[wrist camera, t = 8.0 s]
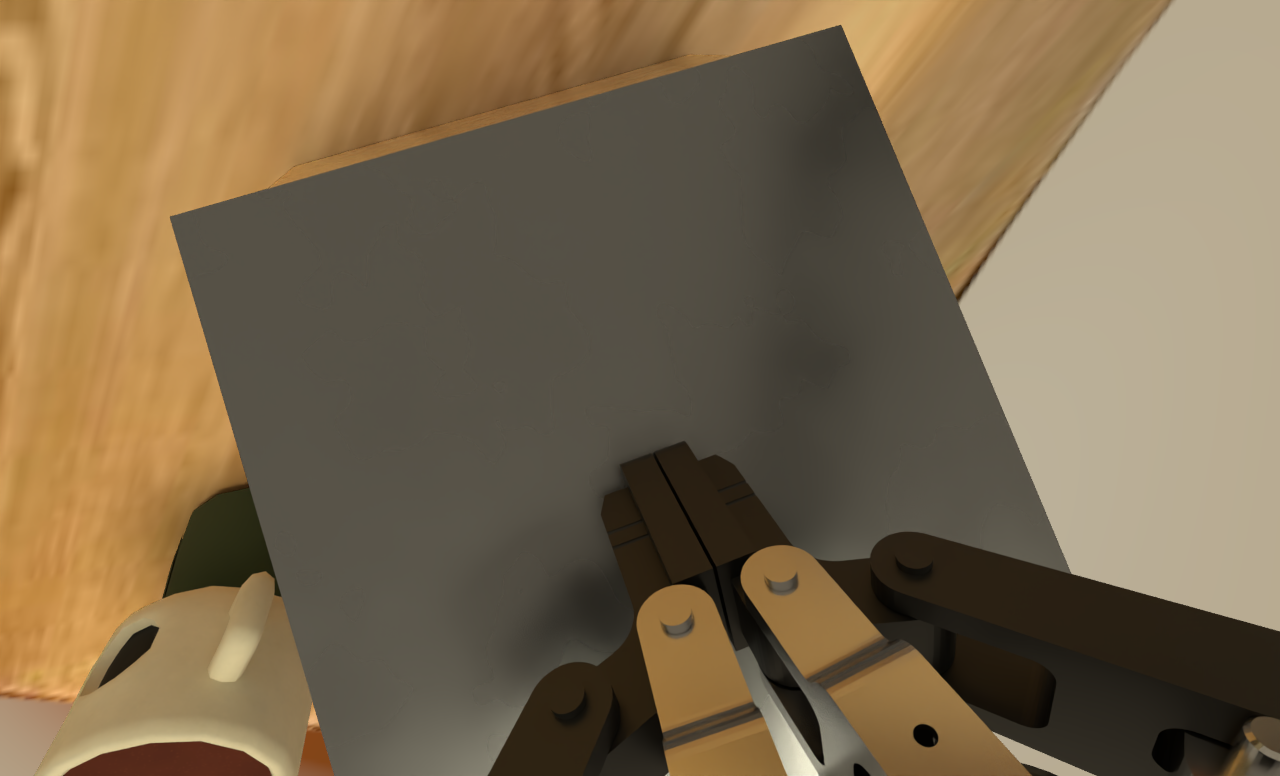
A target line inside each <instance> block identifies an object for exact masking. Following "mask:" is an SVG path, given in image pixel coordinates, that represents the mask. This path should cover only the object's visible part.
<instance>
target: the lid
mask: <svg viewBox="0 0 1280 776" xmlns="http://www.w3.org/2000/svg"><path fill="white" fill-rule="evenodd" d="M170 220H171V223H172V226H173V230H174V233H175V237H176V240H177V243H178V247H179V250H180V254H181V257H182V260H183V264H184V267H185V270H186V274H187V277H188V281H189V284H190V287H191V291H192V294H193V298H194V301H195V304H196V308H197V311H198V315H199V318H200V321H201V325H202V328H203V332H204V335H205V338H206V342H207V345H208V348H209V352H210V355H211V359H212V362H213V365H214V369H215V372H216V376H217V379H218V382H219V386H220V389H221V393H222V396H223V399H224V403H225V406H226V410H227V413H228V416H229V420H230V423H231V426H232V430H233V433H234V437H235V440H236V443H237V447H238V450H239V454H240V457H241V460H242V464H243V467H244V471H245V474H246V477H247V481H248V484H249V488H250V491H251V494H252V498H253V501H254V504H255V508H256V511H257V515H258V518H259V521H260V525H261V528H262V532H263V535H264V538H265V542H266V545H267V549H268V552H269V555H270V559H271V562H272V566H273V569H274V572H275V576H276V579H277V582H278V586H279V589H280V593H281V596H282V599H283V603H284V606H285V610H286V613H287V616H288V620H289V623H290V627H291V630H292V633H293V637H294V640H295V644H296V647H297V650H298V654H299V657H300V660H301V664H302V667H303V671H304V674H305V677H306V681H307V684H308V688H309V691H310V694H311V698H312V701H313V705H314V708H315V711H316V715H317V718H318V722H319V725H320V728H321V732H322V735H323V738H324V742H325V745H326V749H327V752H328V755H329V759H330V762H331V766H332V769H333V772H334V776H488V774H489V772H490V770H491V768H492V766H493V765H494V763H495V761H496V759H497V757H498V755H499V753H500V751H501V750H502V748H503V746H504V744H505V742H506V740H507V738H508V736H509V735H510V733H511V731H512V729H513V727H514V725H515V723H516V721H517V719H518V718H519V716H520V714H521V712H522V710H523V708H524V706H525V704H526V703H527V701H528V699H529V697H530V695H531V693H532V691H533V690H534V688H535V687H536V685H537V684H538V683H539V682H540V680H541V679H542V678H543V677H544V676H545V675H547V674H548V673H549V672H551V671H552V670H553V669H555V668H557V667H559V666H561V665H564V664H567V663H572V662H586V663H590V664H593V665H595V666H598V665H599V664H600V663H601V662H603V661H604V660H605V659H607V658H608V657H609V656H610V655H612V654H613V653H614V652H615V651H616V650H617V649H618V648H619V647H620V646H621V645H622V644H623V643H624V641H625V640H626V638H627V637H628V635H629V633H630V631H631V628H632V625H633V619H634V609H633V605H632V603H631V600H630V597H629V594H628V591H627V588H626V586H625V583H624V580H623V577H622V574H621V571H620V569H619V566H618V563H617V560H616V557H615V554H614V551H613V549H612V546H611V543H610V540H609V537H608V534H607V531H606V529H605V526H604V523H603V520H602V517H601V510H602V506H603V501H604V496H605V495H607V494H610V493H613V492H615V491H618V490H621V489H624V488H626V486H625V483H624V479H623V476H622V473H621V470H620V465H619V464H622V463H625V462H628V461H630V460H633V459H636V458H639V457H641V456H644V455H647V454H650V453H651V454H652V455H653V452H655V451H657V450H660V449H663V448H666V447H668V446H671V445H674V444H677V443H679V442H682V441H685V442H686V443H687V444H688V446H689V447H690V449H691V450H692V452H693V453H694V455H695V457H696V458H697V460H698V461H699V460H701V459H704V458H707V457H709V456H712V455H715V454H716V455H718V456H720V457H722V458H723V459H725V460H727V461H729V462H731V463H733V464H734V465H735V466H736V468H737V469H738V470H739V472H740V473H741V475H742V476H743V477H744V479H745V481H746V483H748V484H749V486H750V487H751V488H752V490H753V491H754V493H755V495H756V496H757V497H758V498H759V500H760V501H761V502H762V504H763V505H764V507H765V508H766V509H767V511H768V512H769V514H770V515H771V516H772V518H773V519H774V521H775V522H776V523H777V525H778V526H779V528H780V529H781V530H782V532H783V533H784V534H785V536H786V537H787V539H788V540H789V541H790V543H791V544H792V545H793V546H794V547H796V548H800V549H802V550H804V551H806V552H807V553H809V554H810V555H812V556H813V557H814V558H816V559H820V560H826V561H844V560H854V559H864V558H870V554H871V552H872V549H873V547H874V546H875V545H876V544H877V542H878V541H880V540H881V539H883V538H884V537H886V536H888V535H891V534H894V533H898V532H920V533H924V534H928V535H932V536H936V537H939V538H943V539H947V540H950V541H954V542H957V543H961V544H965V545H968V546H972V547H976V548H979V549H983V550H986V551H990V552H994V553H997V554H1001V555H1004V556H1008V557H1012V558H1015V559H1019V560H1023V561H1026V562H1030V563H1033V564H1037V565H1041V566H1044V567H1048V568H1052V569H1055V570H1059V571H1062V572H1066V573H1070V574H1071V572H1070V569H1069V567H1068V565H1067V562H1066V560H1065V557H1064V555H1063V553H1062V550H1061V548H1060V546H1059V543H1058V541H1057V538H1056V536H1055V534H1054V531H1053V529H1052V526H1051V524H1050V522H1049V520H1048V517H1047V515H1046V512H1045V510H1044V507H1043V505H1042V503H1041V500H1040V498H1039V495H1038V493H1037V491H1036V488H1035V486H1034V484H1033V481H1032V479H1031V476H1030V474H1029V472H1028V469H1027V467H1026V465H1025V462H1024V460H1023V457H1022V455H1021V453H1020V450H1019V448H1018V445H1017V443H1016V441H1015V438H1014V436H1013V433H1012V431H1011V429H1010V427H1009V424H1008V422H1007V419H1006V417H1005V414H1004V412H1003V410H1002V407H1001V405H1000V403H999V400H998V398H997V395H996V393H995V391H994V388H993V386H992V383H991V381H990V379H989V376H988V374H987V372H986V369H985V367H984V364H983V362H982V360H981V357H980V355H979V352H978V350H977V348H976V345H975V343H974V341H973V338H972V336H971V333H970V331H969V329H968V326H967V324H966V321H965V319H964V317H963V314H962V312H961V310H960V307H959V305H958V302H957V300H956V298H955V295H954V293H953V290H952V288H951V286H950V283H949V281H948V279H947V276H946V274H945V271H944V269H943V267H942V264H941V262H940V259H939V257H938V255H937V252H936V250H935V248H934V245H933V243H932V240H931V238H930V236H929V233H928V231H927V228H926V226H925V224H924V221H923V219H922V217H921V214H920V212H919V209H918V207H917V205H916V202H915V200H914V197H913V195H912V193H911V190H910V188H909V186H908V183H907V181H906V178H905V176H904V174H903V171H902V169H901V167H900V164H899V162H898V159H897V157H896V155H895V152H894V150H893V147H892V145H891V143H890V140H889V138H888V136H887V133H886V131H885V128H884V126H883V124H882V121H881V119H880V116H879V114H878V112H877V109H876V107H875V105H874V102H873V100H872V97H871V95H870V93H869V90H868V88H867V85H866V83H865V81H864V78H863V76H862V74H861V71H860V69H859V66H858V64H857V62H856V59H855V57H854V54H853V52H852V50H851V47H850V45H849V43H848V40H847V38H846V35H845V33H844V31H843V28H842V26H841V25H839V26H835V27H832V28H828V29H825V30H821V31H818V32H814V33H811V34H807V35H804V36H800V37H797V38H793V39H790V40H786V41H783V42H779V43H776V44H772V45H769V46H765V47H762V48H758V49H755V50H751V51H748V52H744V53H741V54H737V55H734V56H730V57H727V58H723V59H720V60H716V61H713V62H709V63H706V64H702V65H699V66H695V67H692V68H688V69H685V70H681V71H678V72H674V73H671V74H667V75H664V76H660V77H657V78H653V79H650V80H646V81H643V82H639V83H636V84H632V85H629V86H625V87H622V88H618V89H615V90H611V91H608V92H604V93H601V94H597V95H594V96H590V97H587V98H583V99H580V100H576V101H573V102H569V103H566V104H562V105H559V106H555V107H552V108H548V109H545V110H541V111H538V112H534V113H531V114H527V115H524V116H520V117H517V118H513V119H510V120H506V121H503V122H499V123H496V124H492V125H489V126H485V127H482V128H478V129H475V130H471V131H468V132H464V133H461V134H457V135H454V136H450V137H447V138H443V139H440V140H436V141H433V142H429V143H426V144H422V145H419V146H415V147H412V148H408V149H405V150H401V151H398V152H395V153H391V154H388V155H384V156H381V157H377V158H374V159H370V160H367V161H363V162H360V163H356V164H353V165H349V166H346V167H342V168H339V169H335V170H332V171H328V172H325V173H321V174H318V175H314V176H311V177H307V178H304V179H300V180H297V181H293V182H290V183H286V184H283V185H279V186H276V187H272V188H269V189H265V190H262V191H258V192H255V193H251V194H248V195H244V196H241V197H237V198H234V199H230V200H227V201H223V202H220V203H216V204H213V205H209V206H206V207H202V208H199V209H195V210H192V211H188V212H185V213H181V214H178V215H174V216H171V217H170ZM729 639H730V638H729ZM730 643H731V646H732V648H733V651H734V654H735V656H736V659H737V661H738V664H739V666H740V669H741V671H742V674H743V676H744V679H745V681H746V684H747V687H748V689H749V692H750V694H751V697H752V699H753V701H754V704H755V706H756V707H759V709H760V711H761V713H762V715H763V717H764V719H765V722H766V724H767V726H768V729H769V731H770V734H771V736H772V739H773V741H774V744H775V746H776V749H777V751H778V754H779V756H780V759H781V761H782V764H783V766H784V769H785V771H786V774H787V776H819V775H818V773H817V771H816V769H815V768H814V766H813V765H812V763H811V761H810V760H809V758H808V756H807V755H806V753H805V752H804V750H803V748H802V747H801V745H800V743H799V742H798V740H797V739H796V737H795V735H794V734H793V732H792V730H791V729H790V727H789V726H788V724H787V722H786V721H785V719H784V717H783V716H782V714H781V713H780V711H779V709H778V708H777V706H776V704H775V703H774V701H773V700H772V698H771V696H770V695H769V693H768V692H767V690H766V688H765V687H764V685H763V683H762V680H761V676H760V671H759V666H758V662H757V661H756V659H755V657H754V655H753V653H752V651H751V649H750V647H749V646H748V647H746V648H744V649H741V650H739V651H736V650H735V648H734V646H733V644H732V642H731V640H730ZM665 776H670V774H669V773H668V774H666V775H665Z"/></svg>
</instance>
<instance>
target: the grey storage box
mask: <svg viewBox="0 0 1280 776" xmlns="http://www.w3.org/2000/svg"><path fill="white" fill-rule="evenodd" d="M727 57H730V56H725V55H694V54H689V55H686V56H682V57H679V58H675V59H672V60H668V61H665V62H661V63H657V64H654V65H650V66H647V67H643V68H640V69H636V70H633V71H629V72H626V73H622V74H619V75H615V76H612V77H608V78H604V79H601V80H597V81H594V82H590V83H587V84H583V85H580V86H576V87H573V88H569V89H566V90H562V91H559V92H555V93H551V94H548V95H544V96H541V97H537V98H534V99H530V100H527V101H523V102H520V103H516V104H513V105H509V106H506V107H502V108H499V109H495V110H491V111H488V112H484V113H481V114H477V115H474V116H470V117H467V118H463V119H460V120H456V121H453V122H449V123H446V124H442V125H438V126H435V127H431V128H428V129H424V130H421V131H417V132H414V133H410V134H407V135H403V136H400V137H396V138H393V139H389V140H385V141H382V142H378V143H375V144H371V145H368V146H364V147H361V148H357V149H354V150H350V151H347V152H343V153H340V154H336V155H333V156H329V157H325V158H322V159H318V160H315V161H311V162H308V163H304V164H301V165H297V166H294V167H293V168H292V169H291V170H289V171H288V172H287V173H286V174H285V175H283V176H282V177H281V178H280V179H279V180H278V181H276V182H275V183H274V184H273V185H272V186H270V187H269V188H272V187H276V186H279V185H283V184H286V183H290V182H293V181H297V180H300V179H304V178H307V177H311V176H314V175H318V174H321V173H325V172H328V171H332V170H335V169H339V168H342V167H346V166H349V165H353V164H356V163H360V162H363V161H367V160H370V159H374V158H377V157H381V156H384V155H388V154H391V153H395V152H398V151H401V150H405V149H408V148H412V147H415V146H419V145H422V144H426V143H429V142H433V141H436V140H440V139H443V138H447V137H450V136H454V135H457V134H461V133H464V132H468V131H471V130H475V129H478V128H482V127H485V126H489V125H492V124H496V123H499V122H503V121H506V120H510V119H513V118H517V117H520V116H524V115H527V114H531V113H534V112H538V111H541V110H545V109H548V108H552V107H555V106H559V105H562V104H566V103H569V102H573V101H576V100H580V99H583V98H587V97H590V96H594V95H597V94H601V93H604V92H608V91H611V90H615V89H618V88H622V87H625V86H629V85H632V84H636V83H639V82H643V81H646V80H650V79H653V78H657V77H660V76H664V75H667V74H671V73H674V72H678V71H681V70H685V69H688V68H692V67H695V66H699V65H702V64H706V63H709V62H713V61H716V60H720V59H723V58H727ZM269 188H268V189H269Z"/></svg>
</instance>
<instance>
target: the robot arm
mask: <svg viewBox="0 0 1280 776" xmlns="http://www.w3.org/2000/svg"><path fill="white" fill-rule="evenodd" d="M619 465H620V470H621V473H622V476H623V479H624V483H625V486H626V488H624V489H621V490H618V491H615V492H613V493H610V494H607V495H605V496H604V501H603V506H602V510H601V517H602V520H603V523H604V526H605V529H606V531H607V534H608V537H609V540H610V543H611V546H612V549H613V551H614V554H615V557H616V560H617V563H618V566H619V569H620V571H621V574H622V577H623V580H624V583H625V586H626V588H627V591H628V594H629V597H630V600H631V603H632V605H633V609H634V619H633V625H632V628H631V631H630V633H629V635H628V637H627V638H626V640H625V641H624V643H623V644H622V645H621V646H620V647H619V648H618V649H617V650H616V651H615V652H614V653H613V654H612V655H610V656H609V657H608V658H607V659H605V660H604V661H603V662H601V663H600V664H599V665H598V666H595V665H593V664H590V663H586V662H572V663H567V664H564V665H561V666H559V667H557V668H555V669H553V670H552V671H551V672H549V673H548V674H547V675H545V676H544V677H543V678H542V679H541V680H540V682H539V683H538V684H537V685H536V687H535V688H534V690H533V691H532V693H531V695H530V697H529V699H528V701H527V703H526V704H525V706H524V708H523V710H522V712H521V714H520V716H519V718H518V719H517V721H516V723H515V725H514V727H513V729H512V731H511V733H510V735H509V736H508V738H507V740H506V742H505V744H504V746H503V748H502V750H501V751H500V753H499V755H498V757H497V759H496V761H495V763H494V765H493V766H492V768H491V770H490V772H489V774H488V776H665V775H666V774H668V773H669V774H670V776H787V774H786V771H785V769H784V766H783V764H782V761H781V759H780V756H779V754H778V751H777V749H776V746H775V744H774V741H773V739H772V736H771V734H770V731H769V729H768V726H767V724H766V722H765V719H764V717H763V715H762V713H761V711H760V709H759V707H756V706H755V704H754V701H753V699H752V697H751V694H750V692H749V689H748V687H747V684H746V681H745V679H744V676H743V674H742V671H741V669H740V666H739V664H738V661H737V659H736V656H735V654H734V651H733V648H732V646H731V643H730V640H731V642H732V644H733V646H734V648H735V650H736V651H739V650H741V649H744V648H746V647H748V646H749V647H750V649H751V651H752V653H753V655H754V657H755V659H756V661H757V662H758V666H759V671H760V676H761V680H762V683H763V685H764V687H765V688H766V690H767V692H768V693H769V695H770V696H771V698H772V700H773V701H774V703H775V704H776V706H777V708H778V709H779V711H780V713H781V714H782V716H783V717H784V719H785V721H786V722H787V724H788V726H789V727H790V729H791V730H792V732H793V734H794V735H795V737H796V739H797V740H798V742H799V743H800V745H801V747H802V748H803V750H804V752H805V753H806V755H807V756H808V758H809V760H810V761H811V763H812V765H813V766H814V768H815V769H816V771H817V773H818V775H819V776H1057V775H1055V774H1052V773H1050V772H1047V771H1045V770H1042V769H1039V768H1036V767H1033V766H1030V765H1027V764H1022V763H1020V762H1019V761H1018V760H1017V759H1016V758H1015V757H1014V755H1013V754H1012V753H1011V752H1010V751H1009V750H1008V749H1007V748H1006V747H1005V746H1004V745H1003V743H1002V742H1001V741H1000V740H999V739H998V738H997V737H996V736H995V735H994V734H993V732H995V733H998V734H1000V735H1002V736H1005V737H1007V738H1009V739H1012V740H1014V741H1016V742H1019V743H1021V744H1024V745H1026V746H1028V747H1031V748H1033V749H1035V750H1038V751H1040V752H1042V753H1045V754H1047V755H1049V756H1052V757H1054V758H1056V759H1059V760H1061V761H1063V762H1066V763H1068V764H1070V765H1073V766H1075V767H1078V768H1080V769H1082V770H1084V771H1087V772H1089V773H1092V774H1094V775H1097V776H1280V631H1276V630H1273V629H1269V628H1265V627H1262V626H1258V625H1254V624H1251V623H1247V622H1244V621H1240V620H1236V619H1233V618H1229V617H1225V616H1222V615H1218V614H1215V613H1211V612H1207V611H1204V610H1200V609H1196V608H1193V607H1189V606H1186V605H1182V604H1178V603H1174V602H1171V601H1167V600H1164V599H1160V598H1157V597H1153V596H1149V595H1146V594H1142V593H1138V592H1135V591H1131V590H1128V589H1124V588H1120V587H1116V586H1113V585H1109V584H1106V583H1102V582H1098V581H1095V580H1091V579H1088V578H1084V577H1080V576H1077V575H1073V574H1070V573H1066V572H1062V571H1059V570H1055V569H1052V568H1048V567H1044V566H1041V565H1037V564H1033V563H1030V562H1026V561H1023V560H1019V559H1015V558H1012V557H1008V556H1004V555H1001V554H997V553H994V552H990V551H986V550H983V549H979V548H976V547H972V546H968V545H965V544H961V543H957V542H954V541H950V540H947V539H943V538H939V537H936V536H932V535H928V534H924V533H920V532H898V533H894V534H891V535H888V536H886V537H884V538H883V539H881V540H880V541H878V542H877V544H876V545H875V546H874V547H873V549H872V552H871V554H870V558H864V559H854V560H844V561H826V560H820V559H816V558H814V557H813V556H812V555H810V554H809V553H807V552H806V551H804V550H802V549H800V548H796V547H794V546H793V545H792V544H791V543H790V541H789V540H788V539H787V537H786V536H785V534H784V533H783V532H782V530H781V529H780V528H779V526H778V525H777V523H776V522H775V521H774V519H773V518H772V516H771V515H770V514H769V512H768V511H767V509H766V508H765V507H764V505H763V504H762V502H761V501H760V500H759V498H758V497H757V496H756V495H755V493H754V491H753V490H752V488H751V487H750V486H749V484H748V483H746V481H745V479H744V477H743V476H742V475H741V473H740V472H739V470H738V469H737V468H736V466H735V465H734V464H733V463H731V462H729V461H727V460H725V459H723V458H722V457H720V456H718V455H716V454H715V455H712V456H709V457H707V458H704V459H701V460H699V461H698V460H697V458H696V457H695V455H694V453H693V452H692V450H691V449H690V447H689V446H688V444H687V443H686V442H685V441H682V442H679V443H677V444H674V445H671V446H668V447H666V448H663V449H660V450H657V451H655V452H653V455H652V454H651V453H650V454H647V455H644V456H641V457H639V458H636V459H633V460H630V461H628V462H625V463H622V464H619ZM729 638H730V639H729ZM992 731H993V732H992Z"/></svg>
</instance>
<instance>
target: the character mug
mask: <svg viewBox="0 0 1280 776" xmlns="http://www.w3.org/2000/svg"><path fill="white" fill-rule="evenodd" d="M182 536H183V535H182ZM311 705H312V698H311V694H310V691H309V688H308V684H307V681H306V677H305V674H304V671H303V667H302V664H301V660H300V657H299V654H298V650H297V647H296V644H295V640H294V637H293V633H292V630H291V627H290V623H289V620H288V616H287V613H286V610H285V606H284V603H283V599H282V596H281V593H280V589H279V586H278V582H277V579H276V576H275V572H274V569H273V566H272V562H271V559H270V555H269V552H268V549H267V545H266V542H265V538H264V535H263V532H262V528H261V525H260V521H259V518H258V515H257V511H256V508H255V504H254V501H253V498H252V494H251V491H250V488H247V489H242V490H237V491H233V492H228V493H223V494H218V495H217V496H215V497H214V498H212V499H210V500H209V501H207V502H206V503H204V504H203V505H201V506H200V507H198V508H197V509H195V510H194V511H193V513H192V515H191V518H190V520H189V523H188V526H187V528H186V531H185V534H184V536H183V539H182V538H181V540H180V543H179V546H178V549H177V551H176V554H175V557H174V560H173V562H172V565H171V568H170V572H169V575H168V579H167V583H166V586H165V590H164V594H163V598H162V599H161V600H159V601H157V602H154V603H152V604H150V605H147V606H145V607H143V608H141V609H139V610H138V611H136V612H134V613H133V614H131V615H130V616H129V617H128V618H127V619H126V620H125V621H124V622H123V623H122V624H121V625H120V626H119V627H118V628H117V629H116V630H115V632H114V633H113V635H112V637H111V638H110V640H109V642H108V643H107V645H106V647H105V648H104V650H103V652H102V654H101V655H100V657H99V658H98V660H97V661H96V663H95V664H94V666H93V667H92V669H91V671H90V673H89V675H88V677H87V678H86V680H85V682H84V684H83V686H82V688H81V690H80V691H79V693H78V695H77V697H76V699H75V701H74V703H73V705H72V707H71V709H70V711H69V713H68V715H67V717H66V719H65V721H64V723H63V724H62V726H61V728H60V730H59V732H58V733H57V735H56V737H55V739H54V741H53V742H52V744H51V746H50V748H49V749H48V751H47V753H46V755H45V757H44V758H43V760H42V762H41V764H40V766H39V767H38V769H37V771H36V773H35V775H34V776H298V771H299V766H300V762H301V756H302V751H303V746H304V740H305V736H306V731H307V725H308V720H309V715H310V710H311Z"/></svg>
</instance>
